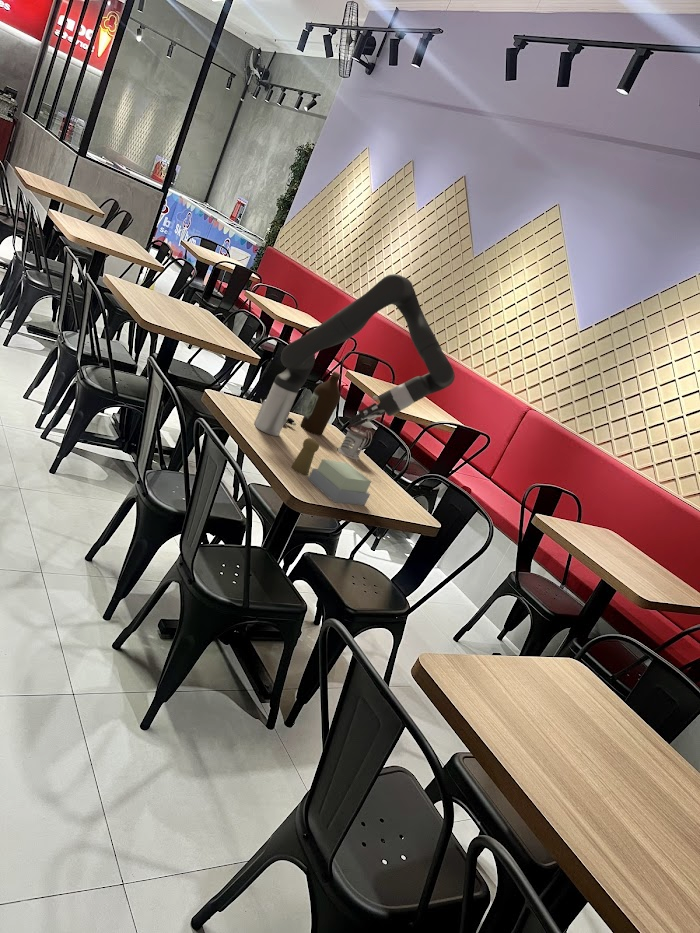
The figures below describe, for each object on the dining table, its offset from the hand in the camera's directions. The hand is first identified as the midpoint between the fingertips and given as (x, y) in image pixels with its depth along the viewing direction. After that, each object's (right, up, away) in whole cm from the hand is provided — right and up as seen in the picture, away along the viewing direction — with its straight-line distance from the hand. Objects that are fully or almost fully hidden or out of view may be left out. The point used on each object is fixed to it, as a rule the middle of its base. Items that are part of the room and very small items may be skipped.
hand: (351, 423), depth 223 cm
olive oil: (-16, +1, +54) cm, 57 cm away
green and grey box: (-5, -22, -3) cm, 23 cm away
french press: (-1, -10, +46) cm, 46 cm away
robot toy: (-29, +4, +47) cm, 55 cm away
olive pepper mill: (-17, -15, +1) cm, 23 cm away
